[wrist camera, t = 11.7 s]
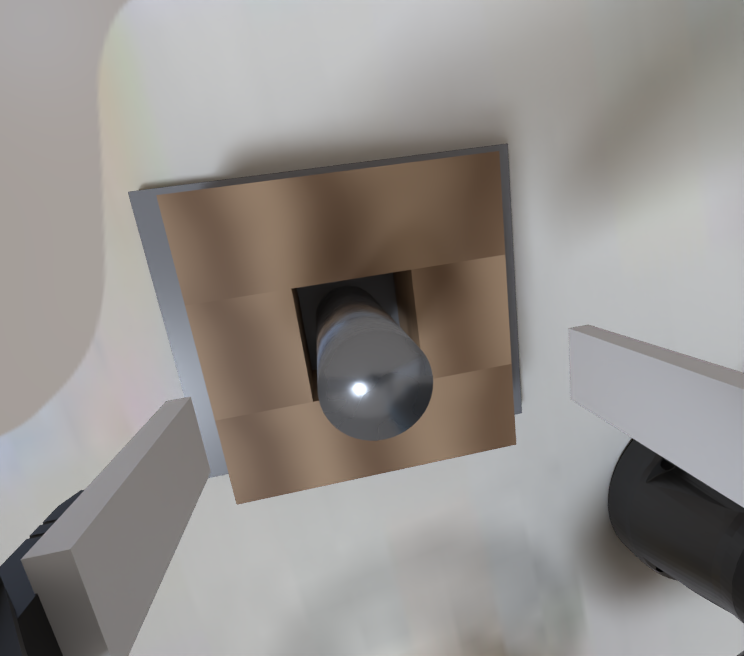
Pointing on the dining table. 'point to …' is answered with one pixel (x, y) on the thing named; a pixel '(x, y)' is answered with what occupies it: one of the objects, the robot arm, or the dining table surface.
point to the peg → (368, 367)
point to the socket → (312, 282)
